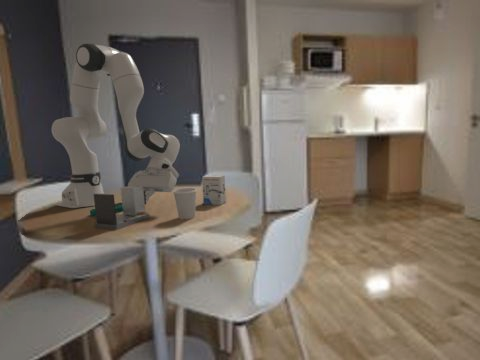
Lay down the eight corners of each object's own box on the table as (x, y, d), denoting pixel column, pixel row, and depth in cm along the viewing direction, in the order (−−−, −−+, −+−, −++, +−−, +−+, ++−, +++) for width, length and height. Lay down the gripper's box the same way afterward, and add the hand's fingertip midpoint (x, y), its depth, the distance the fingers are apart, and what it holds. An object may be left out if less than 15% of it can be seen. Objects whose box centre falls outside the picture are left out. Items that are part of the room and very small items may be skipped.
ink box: (202, 204, 150) (200, 176, 149) (208, 201, 155) (206, 174, 153) (221, 205, 147) (219, 176, 145) (226, 202, 152) (224, 174, 150)
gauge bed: (94, 227, 123) (90, 194, 121) (128, 215, 137) (125, 186, 135) (116, 229, 118) (112, 195, 117) (149, 217, 133) (146, 186, 131)
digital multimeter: (88, 216, 142) (87, 209, 141) (120, 208, 153) (120, 201, 153) (99, 218, 137) (98, 211, 137) (131, 210, 149) (131, 203, 149)
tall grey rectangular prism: (123, 214, 132) (120, 187, 130) (135, 210, 138) (133, 184, 136) (141, 216, 128) (139, 188, 127) (153, 211, 134) (151, 185, 132)
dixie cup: (201, 214, 133) (199, 187, 132) (194, 220, 125) (192, 192, 123) (179, 214, 135) (177, 188, 133) (171, 220, 126) (169, 192, 125)
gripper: (133, 165, 147) (118, 193, 139) (174, 165, 137) (160, 195, 130) (142, 174, 151) (127, 202, 144) (182, 175, 142) (169, 205, 135)
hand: (143, 199), depth 137 cm, fingers closed
